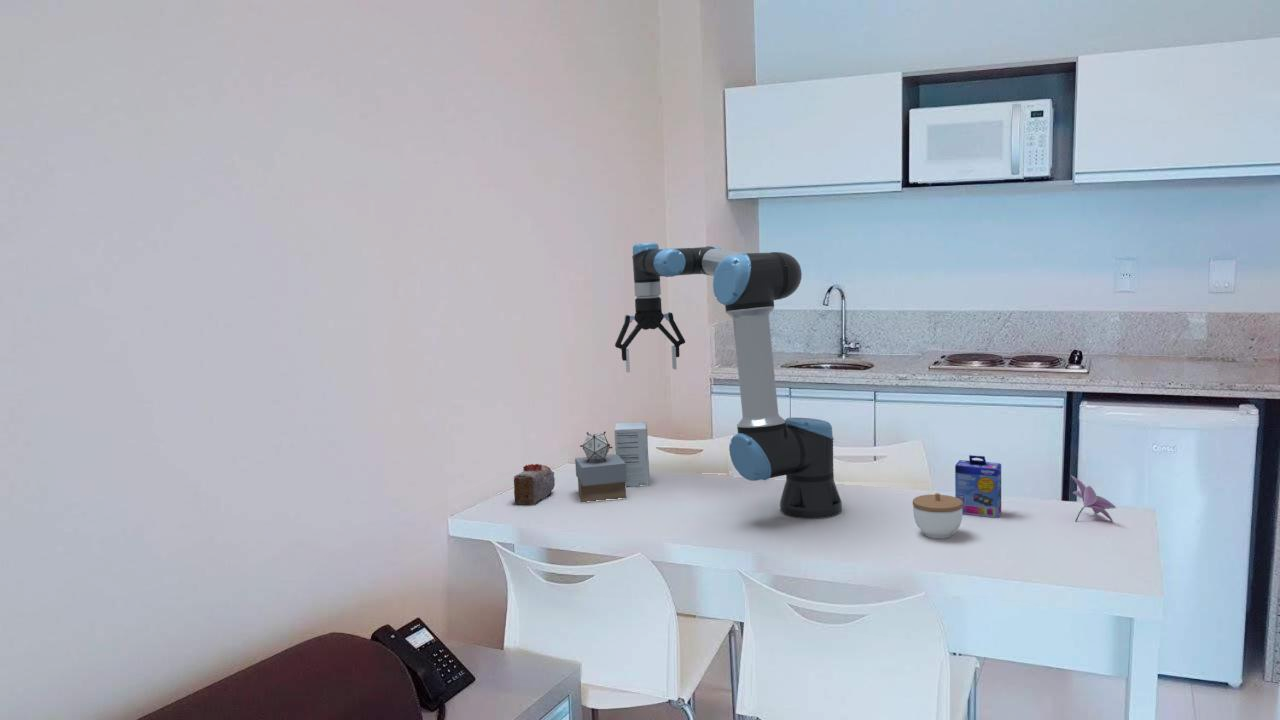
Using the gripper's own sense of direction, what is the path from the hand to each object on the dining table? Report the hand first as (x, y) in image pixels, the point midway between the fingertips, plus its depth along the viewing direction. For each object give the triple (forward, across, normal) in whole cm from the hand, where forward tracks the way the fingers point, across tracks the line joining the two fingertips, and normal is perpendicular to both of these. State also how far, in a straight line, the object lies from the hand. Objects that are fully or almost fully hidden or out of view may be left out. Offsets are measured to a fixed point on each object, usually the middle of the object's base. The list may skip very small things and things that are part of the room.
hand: (651, 370), depth 264 cm
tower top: (+27, +18, +14) cm, 35 cm away
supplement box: (+32, +7, +4) cm, 33 cm away
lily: (+32, -90, +71) cm, 119 cm away
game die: (+22, +18, +14) cm, 32 cm away
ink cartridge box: (+32, -69, +59) cm, 96 cm away
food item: (+32, +36, +12) cm, 50 cm away
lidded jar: (+32, -53, +71) cm, 94 cm away
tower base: (+32, +18, +14) cm, 39 cm away
